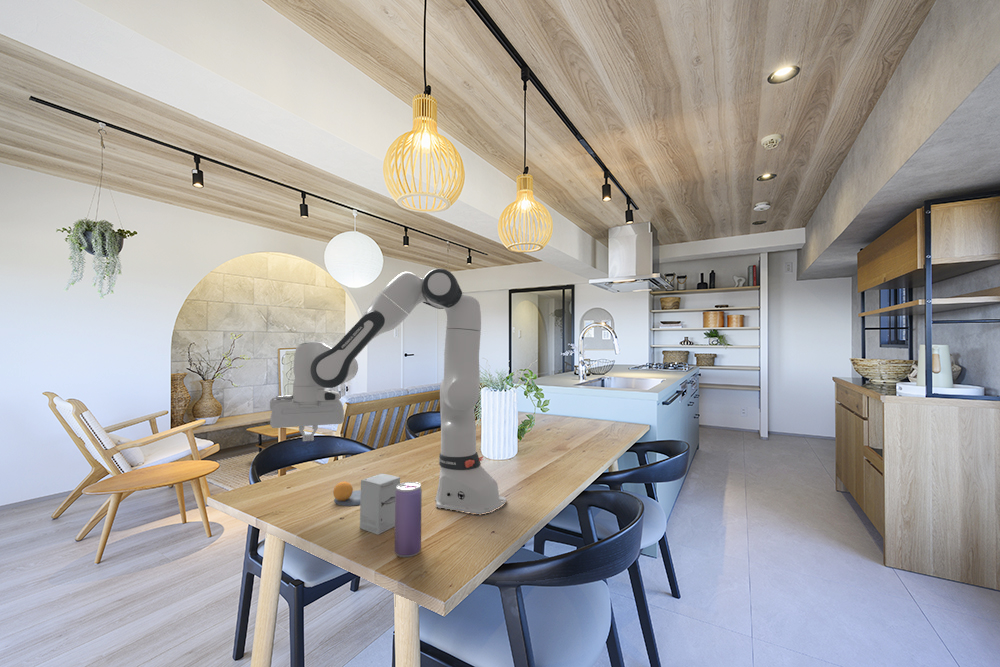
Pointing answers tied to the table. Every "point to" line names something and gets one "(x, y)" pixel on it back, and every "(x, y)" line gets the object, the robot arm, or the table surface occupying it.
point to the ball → (343, 491)
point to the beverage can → (408, 519)
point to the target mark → (351, 499)
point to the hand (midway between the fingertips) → (308, 440)
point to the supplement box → (378, 503)
